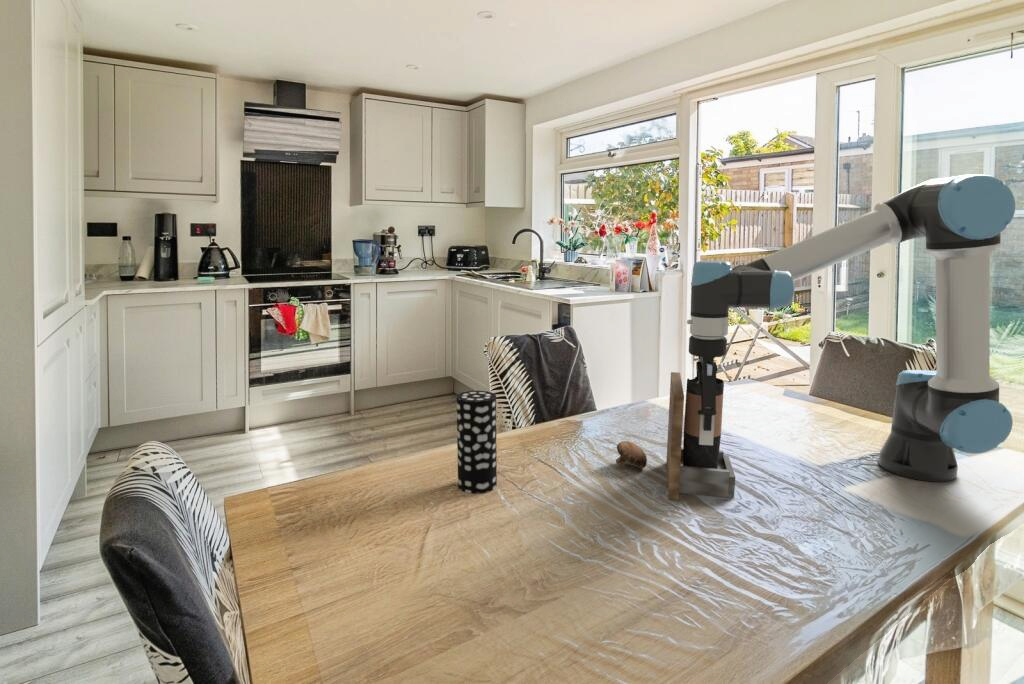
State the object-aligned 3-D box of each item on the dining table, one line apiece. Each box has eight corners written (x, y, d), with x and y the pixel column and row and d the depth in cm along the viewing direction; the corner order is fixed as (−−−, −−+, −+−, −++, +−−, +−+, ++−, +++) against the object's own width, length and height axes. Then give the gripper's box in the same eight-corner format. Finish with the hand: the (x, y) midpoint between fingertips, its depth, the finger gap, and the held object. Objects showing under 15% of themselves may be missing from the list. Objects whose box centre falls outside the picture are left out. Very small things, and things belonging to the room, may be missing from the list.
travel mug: (720, 478, 129) (726, 385, 125) (682, 475, 130) (687, 383, 127) (716, 464, 136) (722, 376, 132) (680, 461, 138) (685, 375, 134)
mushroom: (604, 456, 140) (621, 434, 140) (611, 457, 148) (627, 436, 148) (632, 479, 137) (649, 456, 137) (638, 479, 145) (654, 458, 144)
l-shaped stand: (725, 467, 142) (731, 375, 138) (736, 505, 123) (744, 399, 119) (666, 462, 145) (671, 372, 141) (668, 499, 126) (673, 395, 122)
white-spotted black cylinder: (503, 481, 135) (502, 393, 131) (485, 496, 127) (484, 403, 123) (469, 475, 138) (468, 388, 134) (450, 489, 131) (449, 398, 127)
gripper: (686, 325, 140) (682, 414, 144) (692, 347, 117) (688, 453, 121) (720, 326, 139) (716, 416, 143) (734, 348, 115) (728, 455, 119)
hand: (703, 433), depth 132 cm, fingers open, 13 cm apart
